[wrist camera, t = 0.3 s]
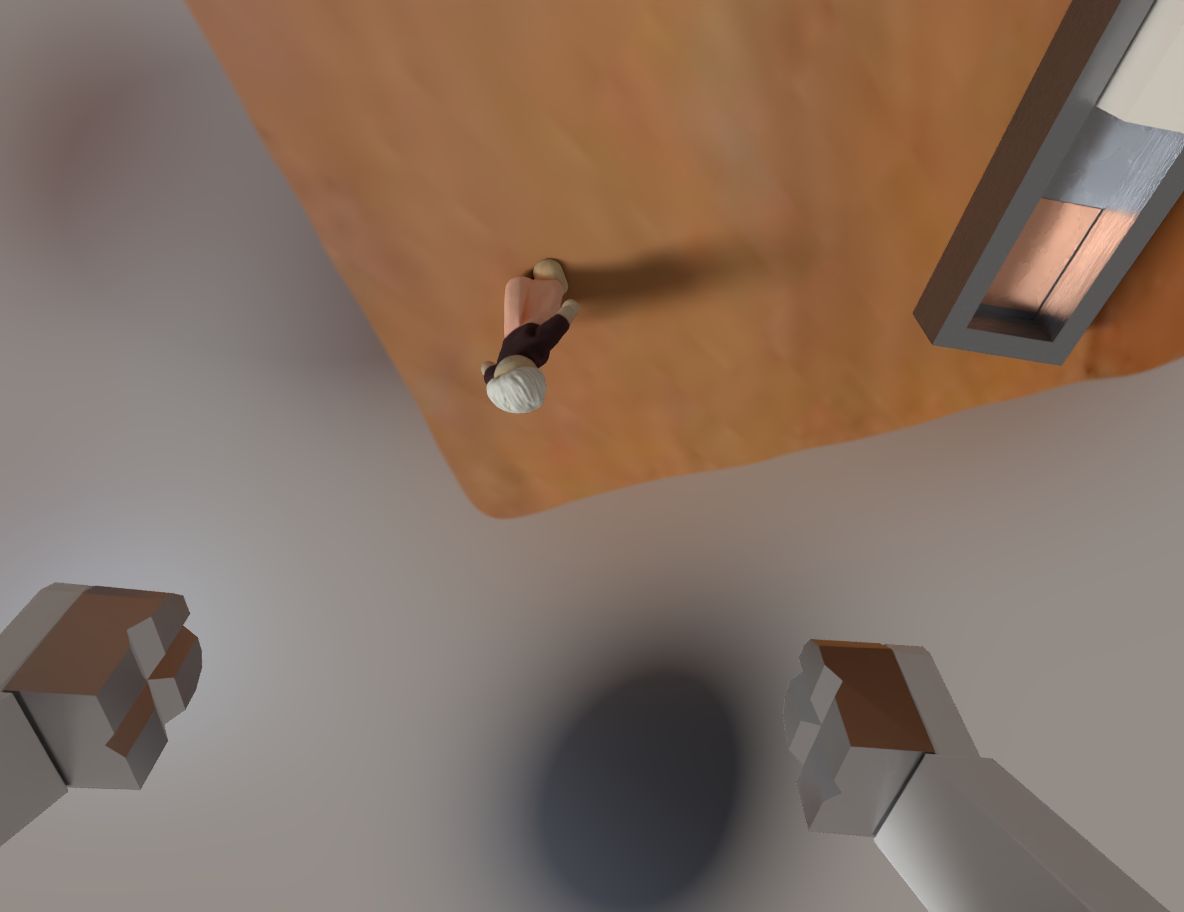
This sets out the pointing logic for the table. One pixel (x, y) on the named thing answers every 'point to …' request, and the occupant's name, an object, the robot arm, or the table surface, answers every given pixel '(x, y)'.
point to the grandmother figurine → (529, 337)
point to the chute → (1056, 204)
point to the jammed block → (1151, 72)
